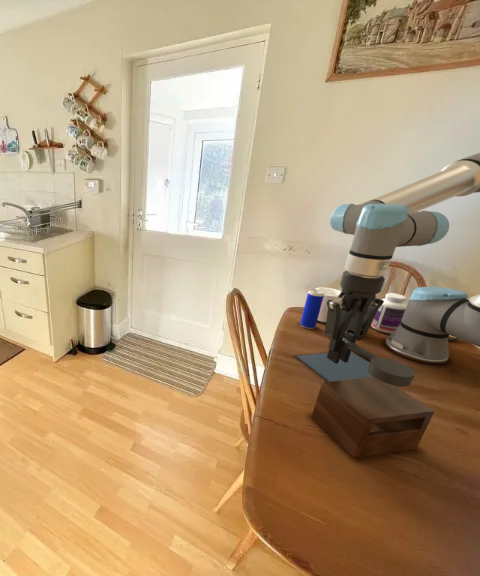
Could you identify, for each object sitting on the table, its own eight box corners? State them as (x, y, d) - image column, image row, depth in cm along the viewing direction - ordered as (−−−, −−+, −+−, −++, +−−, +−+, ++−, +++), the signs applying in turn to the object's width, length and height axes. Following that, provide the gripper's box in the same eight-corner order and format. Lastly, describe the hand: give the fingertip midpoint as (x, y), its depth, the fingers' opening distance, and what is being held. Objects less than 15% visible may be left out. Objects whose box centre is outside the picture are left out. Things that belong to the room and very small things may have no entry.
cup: (302, 314, 134) (309, 287, 130) (326, 314, 134) (334, 287, 129) (317, 325, 125) (325, 296, 120) (342, 325, 125) (351, 296, 120)
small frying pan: (339, 337, 83) (341, 328, 82) (420, 384, 65) (424, 374, 64) (315, 339, 82) (317, 330, 81) (390, 388, 64) (395, 377, 63)
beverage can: (317, 329, 122) (327, 294, 116) (302, 328, 123) (312, 293, 117) (311, 323, 126) (321, 289, 121) (297, 322, 127) (306, 288, 122)
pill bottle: (403, 333, 119) (416, 298, 114) (388, 336, 117) (401, 301, 111) (379, 323, 126) (391, 290, 121) (365, 326, 124) (376, 293, 119)
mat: (349, 352, 107) (350, 350, 107) (397, 381, 92) (398, 380, 92) (296, 357, 104) (296, 355, 104) (337, 388, 90) (337, 386, 89)
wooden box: (366, 411, 81) (379, 376, 77) (416, 449, 70) (435, 411, 66) (311, 417, 79) (322, 382, 75) (353, 458, 68) (368, 419, 64)
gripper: (349, 280, 67) (322, 371, 76) (409, 276, 69) (376, 365, 78) (321, 270, 74) (299, 354, 83) (377, 266, 76) (350, 349, 85)
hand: (337, 359), depth 80 cm, fingers closed on small frying pan, 2 cm apart
